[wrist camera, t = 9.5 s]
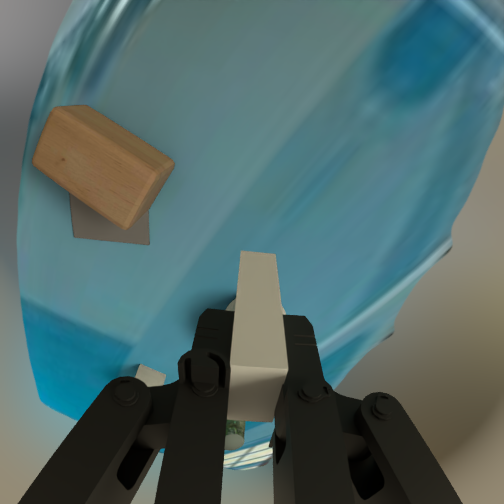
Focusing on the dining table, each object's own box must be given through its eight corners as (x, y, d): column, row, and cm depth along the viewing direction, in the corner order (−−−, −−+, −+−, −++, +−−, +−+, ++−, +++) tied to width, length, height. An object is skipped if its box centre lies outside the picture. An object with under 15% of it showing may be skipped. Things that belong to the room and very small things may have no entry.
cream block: (140, 363, 65) (128, 395, 56) (166, 374, 66) (157, 407, 57) (137, 371, 66) (125, 402, 57) (161, 382, 68) (153, 413, 59)
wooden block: (125, 235, 39) (28, 164, 34) (148, 211, 48) (62, 152, 43) (159, 175, 35) (51, 104, 30) (178, 161, 44) (85, 102, 39)
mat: (68, 153, 43) (67, 154, 43) (148, 153, 44) (148, 153, 44) (75, 236, 50) (74, 237, 50) (149, 244, 51) (149, 245, 51)
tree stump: (170, 393, 71) (165, 443, 53) (224, 351, 69) (230, 401, 52) (219, 426, 76) (224, 474, 58) (273, 389, 74) (288, 437, 57)
